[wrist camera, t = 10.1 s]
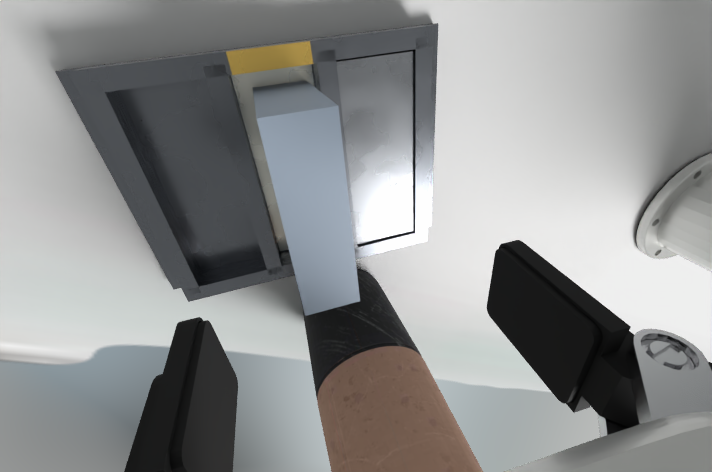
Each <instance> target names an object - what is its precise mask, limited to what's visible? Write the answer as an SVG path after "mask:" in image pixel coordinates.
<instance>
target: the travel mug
mask: <svg viewBox="0 0 712 472" xmlns="http://www.w3.org/2000/svg"><path fill="white" fill-rule="evenodd" d="M357 276H358V285H359V294H360V301H359V302H355V303H351V304H348V305H344V306H340V307H337V308H333V309H329V310H326V311H322V312H318V313H315V314H311V315H307V316H305V313H304V309H303V314H304V321H305V328H306V334H307V340H308V346H309V352H310V359H311V364H312V371H313V377H314V384H315V390H316V396H317V400H318V407H319V412H320V417H321V422H322V426H323V431H324V436H325V441H326V446H327V451H328V456H329V461H330V466H331V471H332V472H483V471H482V469H481V467H480V465H479V463H478V461H477V459H476V457H475V456H474V454H473V452H472V450H471V448H470V447H469V444H468V442H467V440H466V439H465V437H464V435H463V433H462V431H461V429H460V427H459V425H458V424H457V422H456V420H455V418H454V416H453V414H452V412H451V411H450V409H449V407H448V405H447V403H446V401H445V399H444V397H443V395H442V393H441V392H440V390H439V388H438V386H437V384H436V382H435V380H434V378H433V377H432V375H431V373H430V371H429V369H428V367H427V365H426V363H425V361H424V360H423V358H422V356H421V354H420V353H419V351H418V349H417V347H416V346H415V344H414V342H413V341H412V339H411V337H410V336H409V334H408V332H407V331H406V329H405V327H404V325H403V324H402V322H401V320H400V319H399V317H398V315H397V314H396V312H395V310H394V308H393V307H392V305H391V303H390V302H389V300H388V298H387V297H386V295H385V293H384V292H383V290H382V288H381V287H380V285H379V283H378V282H377V281H376V279H375V278H374V277H373V276H371V275H370V274H369V273H367V272H365V271H362V270H358V269H357Z"/></svg>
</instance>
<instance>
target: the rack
mask: <svg viewBox="0 0 712 472" xmlns="http://www.w3.org/2000/svg"><path fill="white" fill-rule="evenodd" d="M437 44H438V23H437V24H427V25H419V26H411V27H403V28H395V29H387V30H379V31H371V32H363V33H355V34H347V35H339V36H331V37H323V38H315V39H307V40H299V41H291V42H283V43H275V44H267V45H259V46H251V47H243V48H235V49H227V50H219V51H211V52H203V53H195V54H187V55H179V56H171V57H163V58H155V59H147V60H139V61H131V62H123V63H115V64H107V65H99V66H91V67H83V68H75V69H67V70H60V71H55V72H56V73H57V75H58V77H59V79H60V81H61V83H62V84H63V86H64V88H65V90H66V92H67V94H68V96H69V97H70V99H71V101H72V103H73V105H74V107H75V108H76V110H77V112H78V114H79V116H80V118H81V119H82V121H83V123H84V125H85V127H86V129H87V131H88V132H89V134H90V136H91V138H92V140H93V142H94V143H95V145H96V147H97V149H98V151H99V153H100V155H101V156H102V158H103V160H104V162H105V164H106V166H107V167H108V169H109V171H110V173H111V175H112V177H113V178H114V180H115V182H116V184H117V186H118V188H119V190H120V191H121V193H122V195H123V197H124V199H125V201H126V202H127V204H128V206H129V208H130V210H131V212H132V214H133V215H134V217H135V219H136V221H137V223H138V225H139V226H140V228H141V230H142V232H143V234H144V236H145V238H146V239H147V241H148V243H149V245H150V247H151V249H152V250H153V252H154V254H155V256H156V258H157V260H158V261H159V263H160V265H161V267H162V269H163V271H164V273H165V274H166V276H167V278H168V280H169V282H170V284H171V285H172V287H173V289H178V288H182V290H183V292H184V294H185V296H186V298H187V300H188V302H190V301H193V300H197V299H201V298H205V297H209V296H213V295H217V294H221V293H225V292H229V291H233V290H237V289H241V288H245V287H248V286H252V285H256V284H260V283H264V282H268V281H272V280H276V279H280V278H284V277H288V276H292V275H295V272H294V268H293V264H292V260H291V256H290V252H289V248H288V244H287V240H286V236H285V232H284V228H283V224H282V220H281V216H280V212H279V208H278V204H277V200H276V196H275V192H274V187H273V183H272V179H271V175H270V171H269V167H268V163H267V159H266V155H265V151H264V147H263V143H262V139H261V135H260V131H259V127H258V123H257V119H256V111H255V103H254V96H253V87H261V86H268V85H275V84H283V83H290V82H297V81H304V80H306V81H307V82H309V83H310V84H311V85H312V86H314V87H315V88H316V89H318V90H319V91H320V92H321V93H323V94H324V95H325V96H326V97H328V98H329V99H330V100H332V101H333V102H334V103H335V104H337V105H338V107H339V116H340V125H341V134H342V143H343V152H344V161H345V170H346V178H347V187H348V196H349V205H350V214H351V223H352V232H353V241H354V250H355V259H358V258H362V257H366V256H370V255H374V254H378V253H382V252H386V251H390V250H394V249H398V248H402V247H406V246H410V245H413V244H417V243H421V242H425V241H427V236H428V227H429V226H431V223H432V193H433V163H434V133H435V103H436V73H437Z"/></svg>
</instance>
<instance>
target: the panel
mask: <svg viewBox="0 0 712 472" xmlns="http://www.w3.org/2000/svg"><path fill="white" fill-rule="evenodd" d="M253 96H254V103H255V111H256V119H257V123H258V127H259V131H260V135H261V139H262V143H263V147H264V151H265V155H266V159H267V163H268V167H269V171H270V175H271V179H272V183H273V187H274V192H275V196H276V200H277V204H278V208H279V212H280V216H281V220H282V224H283V228H284V232H285V236H286V240H287V244H288V248H289V252H290V256H291V260H292V264H293V268H294V272H295V277H296V281H297V285H298V289H299V293H300V297H301V301H302V305H303V309H304V313H305V316H307V315H311V314H315V313H318V312H322V311H326V310H329V309H333V308H337V307H340V306H344V305H348V304H351V303H355V302H359V301H360V294H359V285H358V276H357V268H356V259H355V250H354V241H353V232H352V223H351V214H350V205H349V196H348V187H347V178H346V170H345V161H344V152H343V143H342V134H341V125H340V116H339V107H338V105H337V104H335V103H334V102H333V101H332V100H330V99H329V98H328V97H326V96H325V95H324V94H323V93H321V92H320V91H319V90H318V89H316V88H315V87H314V86H312V85H311V84H310V83H309V82H307V81H306V80H304V81H297V82H290V83H283V84H275V85H268V86H261V87H253Z"/></svg>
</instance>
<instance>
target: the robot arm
mask: <svg viewBox="0 0 712 472" xmlns="http://www.w3.org/2000/svg"><path fill="white" fill-rule="evenodd" d="M636 241H637V246H638V248H639V250H640V251H641V252H642V253H644V254H646V255H647V256H649V257H651V258H654V259H664V258H669V257H673V256H676V255H679V256H681V257H683V258H685V259H687V260H689V261H691V262H693V263H695V264H697V265H699V266H701V267H703V268H705V269H706V270H708V271H710V272H712V153H710V154H708V155H705V156H703V157H701V158H699V159H697V160H695V161H694V162H692V163H690V164H689V165H688V166H686V167H685V168H684V169H682V170H681V171H680V172H678V173H677V174H676V175H675V176H674V177H673V178H672V179H671V180H669V181H668V182H667V183H666V185H665V186H664V187H663V188H662V189H661V190H660V191H659V192H658V194H657V195H656V196H655V197H654V199H653V200H652V201H651V203H650V204H649V206H648V208H647V209H646V211H645V212H644V215H643V217H642V219H641V221H640V223H639V227H638V230H637V236H636ZM487 311H488V314H489V316H490V317H491V318H492V320H493V321H494V322H495V323H496V324H497V326H498V327H499V328H500V329H501V331H502V332H503V333H504V334H505V335H506V337H507V338H508V339H509V340H510V342H511V343H512V344H513V345H514V346H515V348H516V349H517V350H518V351H519V353H520V354H521V355H522V356H523V357H524V359H525V360H526V361H527V362H528V364H529V365H530V366H531V367H532V368H533V370H534V371H535V372H536V373H537V374H538V376H539V377H540V378H541V379H542V381H543V382H544V383H545V384H546V385H547V387H548V388H549V389H550V390H551V392H552V393H553V394H554V395H555V396H556V397H557V399H558V400H559V401H561V402H562V403H566V404H567V405H568V406H569V407H570V409H571V410H572V411H573V412H577V411H580V410H583V409H586V408H589V407H590V405H591V407H593V409H594V410H595V411H596V412H597V413H598V423H599V432H600V438H597V439H594V440H592V441H589V442H586V443H583V444H580V445H578V446H575V447H572V448H569V449H566V450H564V451H561V452H558V453H555V454H552V455H550V456H547V457H544V458H541V459H538V460H535V461H533V462H530V463H527V464H524V465H521V466H518V467H516V468H513V469H510V470H507V471H504V472H712V363H710V362H708V361H707V359H706V358H705V356H704V355H703V353H702V352H701V351H700V350H699V349H698V348H697V347H696V346H694V345H693V344H692V343H690V342H689V341H687V340H685V339H684V338H682V337H680V336H677V335H675V334H673V333H670V332H666V331H663V330H657V329H643V330H641V331H639V332H637V333H636V334H635V335H634V334H632V333H631V332H630V331H629V329H630V326H629V325H628V324H626V323H625V322H624V321H623V320H621V319H620V318H619V317H617V316H616V315H615V314H614V313H612V312H611V311H610V310H609V309H607V308H606V307H605V306H603V305H602V304H601V303H600V302H598V301H597V300H596V299H595V298H593V297H592V296H591V295H589V294H588V293H587V292H586V291H584V290H583V289H582V288H581V287H579V286H578V285H577V284H575V283H574V282H573V281H572V280H570V279H569V278H568V277H566V276H565V275H564V274H563V273H561V272H560V271H559V270H558V269H556V268H555V267H554V266H552V265H551V264H550V263H549V262H547V261H546V260H545V259H544V258H542V257H541V256H540V255H538V254H537V253H536V252H535V251H533V250H532V249H531V248H529V247H528V246H527V245H526V244H524V243H523V242H522V241H520V240H516V241H512V242H508V243H504V244H501V245H500V246H499V249H498V250H496V253H495V258H494V265H493V271H492V277H491V284H490V290H489V296H488V302H487ZM237 393H238V382H237V377H236V374H235V372H234V370H233V368H232V366H231V364H230V362H229V360H228V358H227V356H226V354H225V352H224V350H223V348H222V346H221V344H220V342H219V339H218V337H217V335H216V333H215V331H214V329H213V327H212V325H211V323H210V322H209V321H203V320H202V318H200V317H198V318H194V319H190V320H186V321H182V322H179V323H178V324H177V326H176V330H175V333H174V337H173V340H172V344H171V347H170V351H169V354H168V358H167V361H166V365H165V368H164V372H163V374H161V375H158V376H156V378H155V379H154V380H153V382H152V385H151V388H150V391H149V394H148V398H147V401H146V404H145V407H144V410H143V413H142V417H141V420H140V423H139V426H138V429H137V433H136V436H135V439H134V442H133V445H132V449H131V452H130V455H129V458H128V461H127V465H126V468H125V471H124V472H232V470H233V456H234V440H235V424H236V408H237Z"/></svg>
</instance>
